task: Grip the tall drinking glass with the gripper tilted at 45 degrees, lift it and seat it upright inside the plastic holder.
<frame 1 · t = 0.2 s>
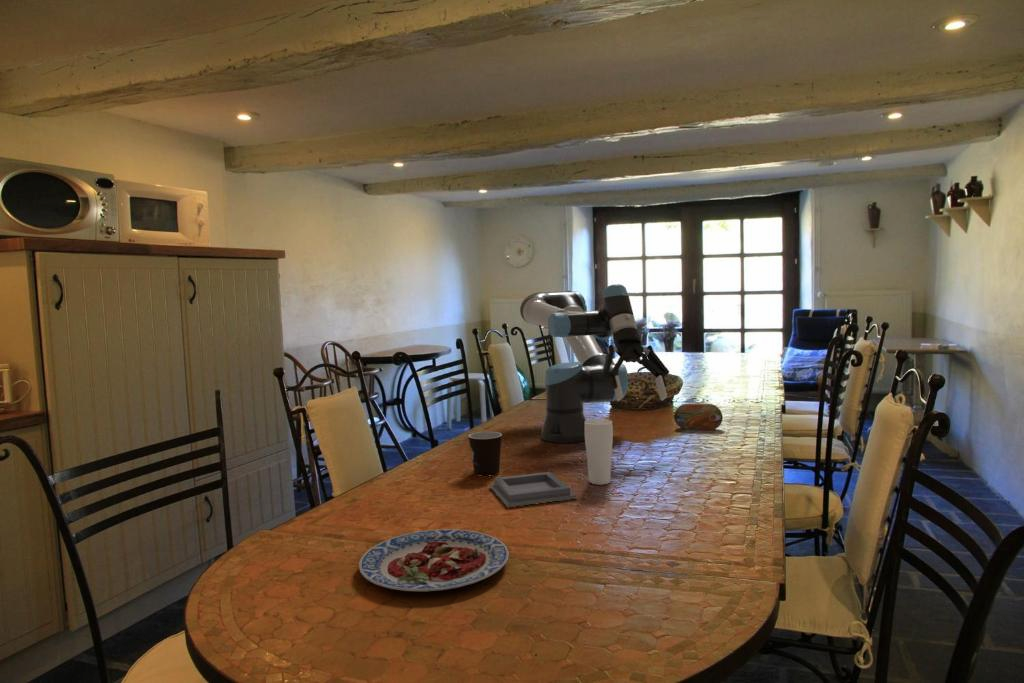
hand: (642, 398, 186), 16 cm above the table, tool tilted 35°, fingers open, 13 cm apart
plastic holder: (531, 493, 156), on the table
tin: (698, 429, 218), on the table
ceramic plate: (435, 569, 117), on the table
drinking glass: (599, 483, 163), on the table
coffee mug: (488, 472, 176), on the table
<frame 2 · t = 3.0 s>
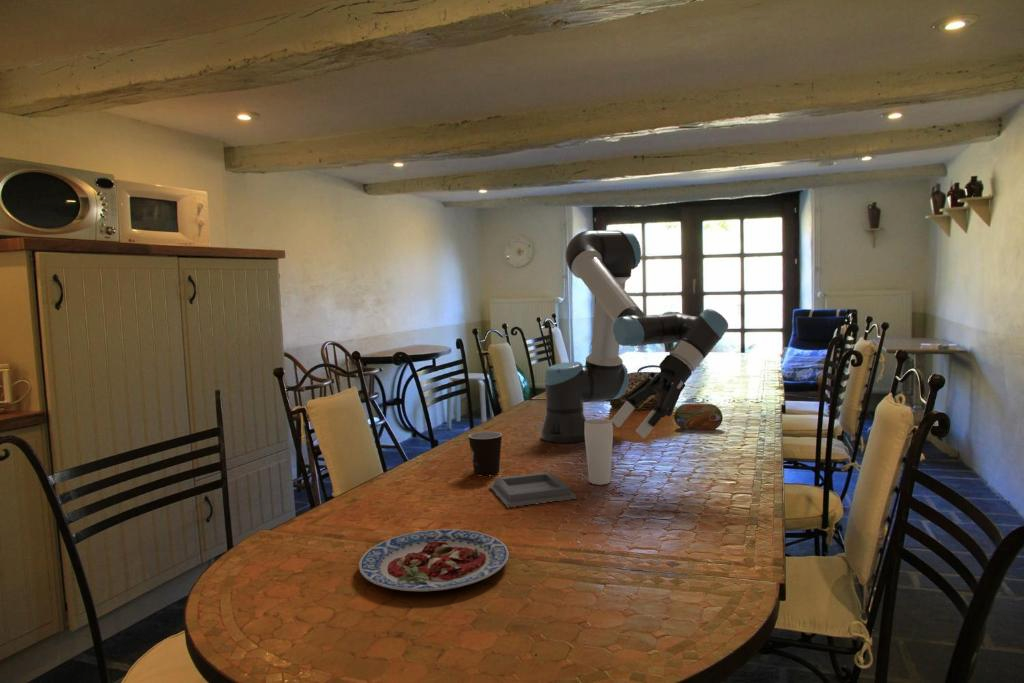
hand: (626, 429, 163), 13 cm above the table, tool tilted 45°, fingers open, 13 cm apart
nothing on the table moved.
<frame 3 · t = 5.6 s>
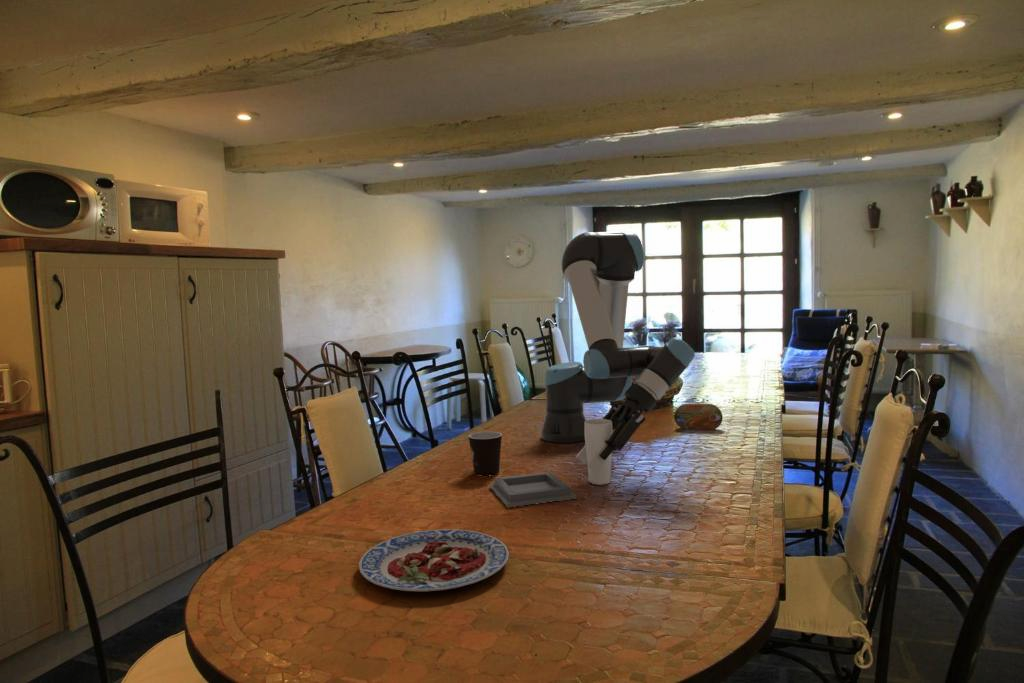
hand: (585, 463, 162), 5 cm above the table, tool tilted 45°, fingers closed on drinking glass, 6 cm apart
drinking glass: (599, 483, 163), on the table, touching gripper
everything else where it was.
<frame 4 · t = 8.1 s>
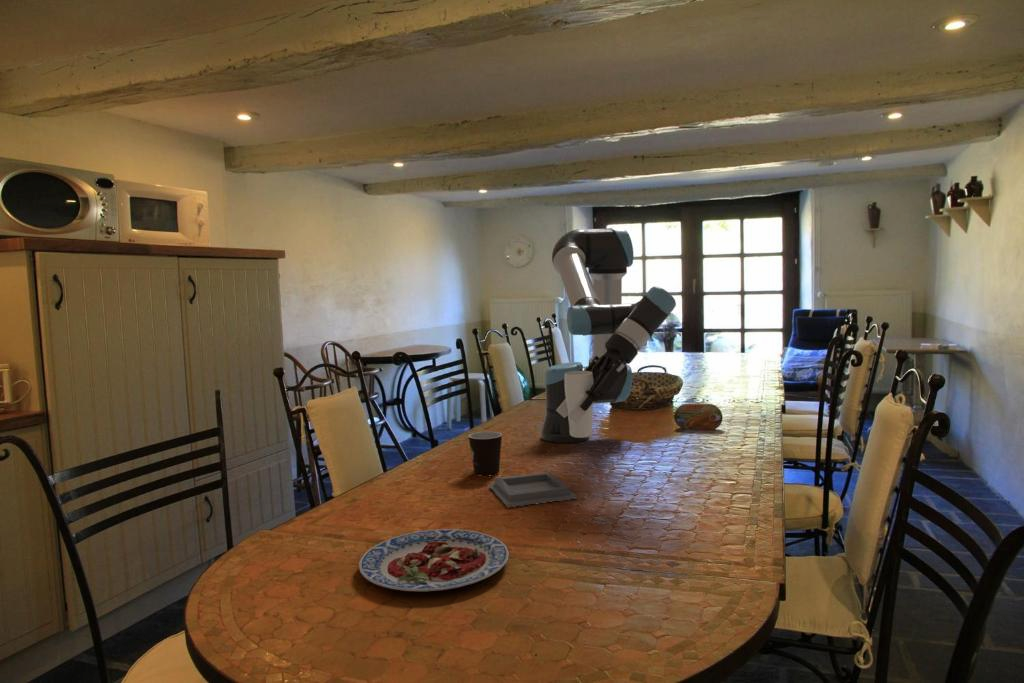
hand: (566, 416, 157), 17 cm above the table, tool tilted 45°, fingers closed on drinking glass, 6 cm apart
drinking glass: (581, 436, 159), point 12 cm above the table, touching gripper
everything else where it was.
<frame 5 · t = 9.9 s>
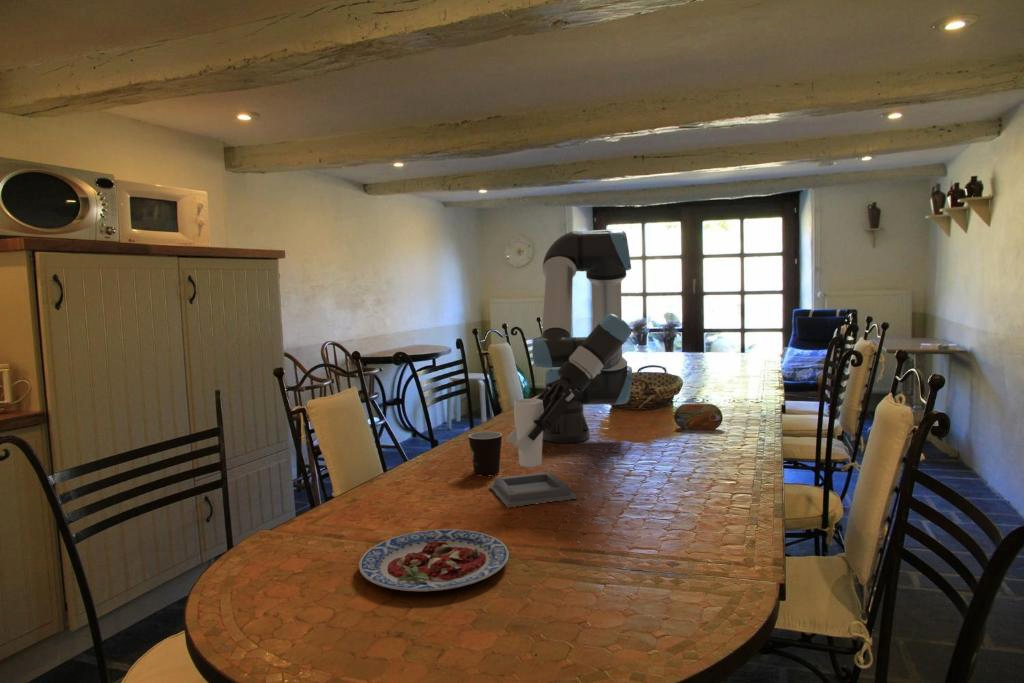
hand: (515, 445, 154), 12 cm above the table, tool tilted 45°, fingers closed on drinking glass, 6 cm apart
drinking glass: (530, 465, 155), point 7 cm above the table, touching gripper
everything else where it was.
when the fingers open (8 cm above the table, at t = 10.9 s): drinking glass drops 2 cm, resting on plastic holder.
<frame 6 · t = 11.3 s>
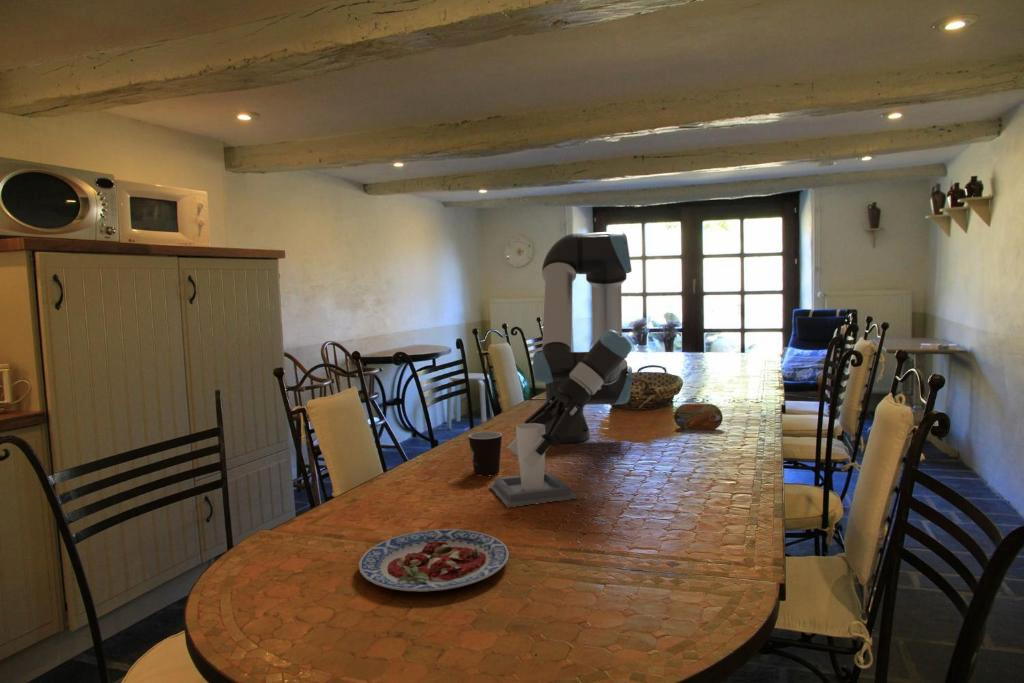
hand: (519, 457, 155), 9 cm above the table, tool tilted 45°, fingers open, 11 cm apart
drinking glass: (532, 490, 155), point 1 cm above the table, touching plastic holder
everything else where it was.
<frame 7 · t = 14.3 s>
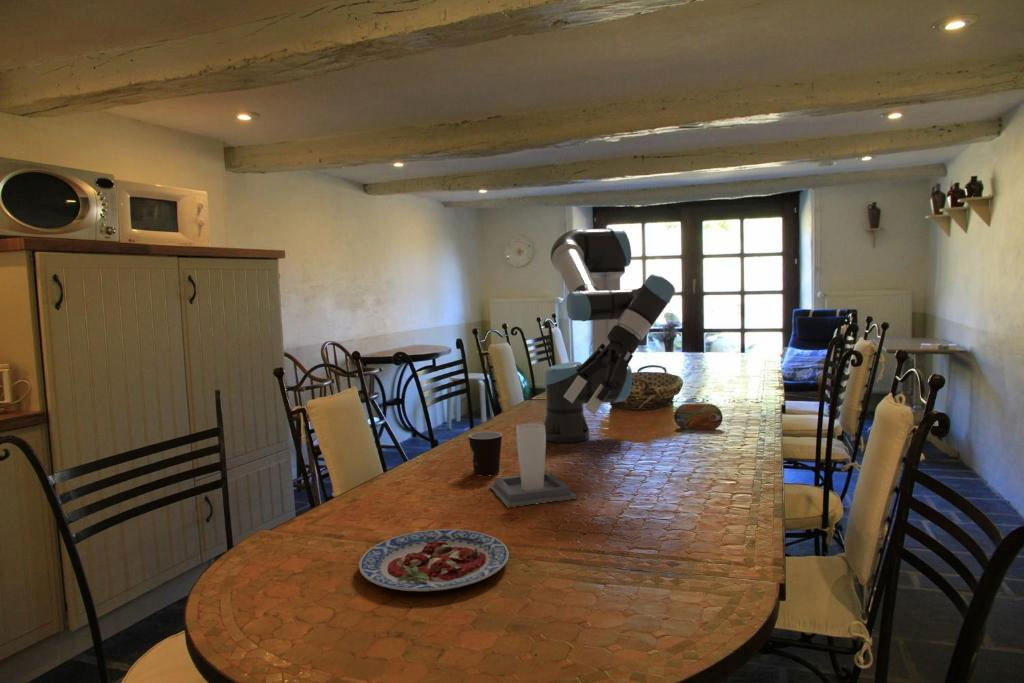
hand: (578, 405, 160), 19 cm above the table, tool tilted 40°, fingers open, 13 cm apart
nothing on the table moved.
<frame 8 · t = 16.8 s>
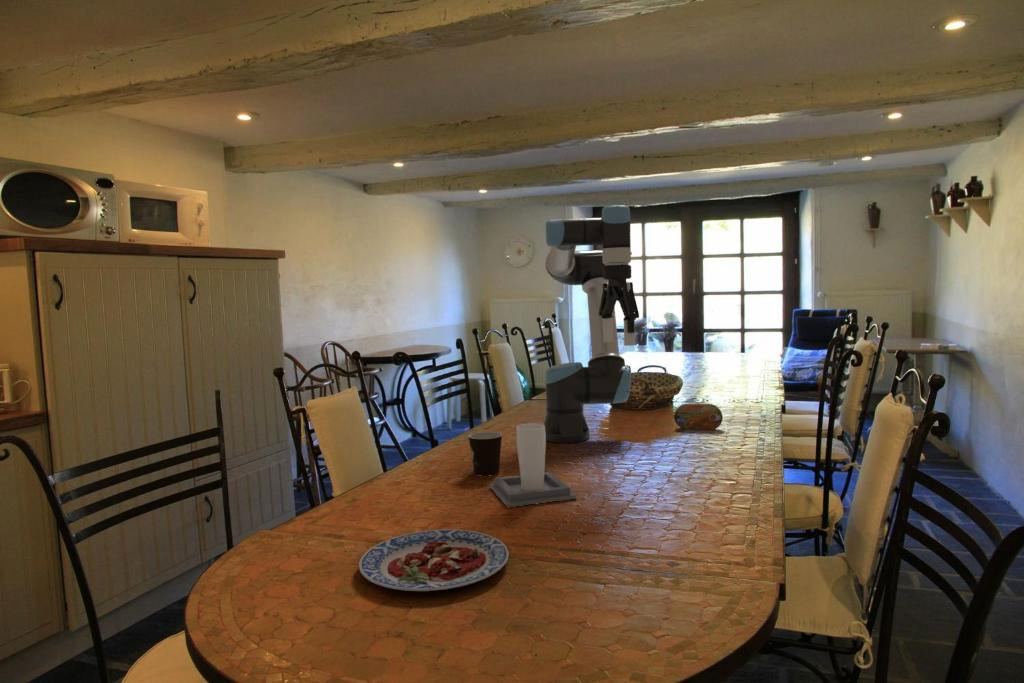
hand: (618, 343, 181), 32 cm above the table, tool pointing down, fingers open, 13 cm apart
nothing on the table moved.
at the end: drinking glass 0.7 cm off-centre on the plastic holder, point 0.8 cm above the plastic holder's base; drinking glass tilted 0°; the gripper is holding nothing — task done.
